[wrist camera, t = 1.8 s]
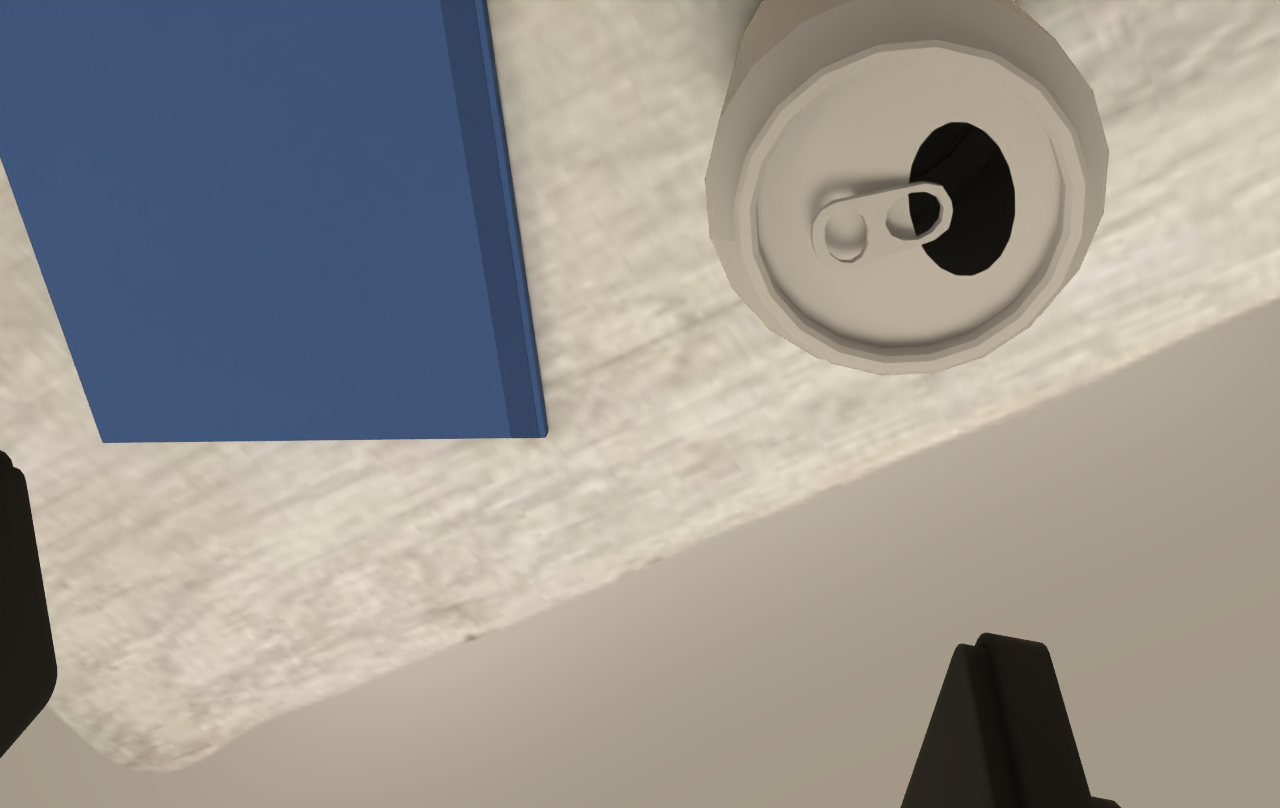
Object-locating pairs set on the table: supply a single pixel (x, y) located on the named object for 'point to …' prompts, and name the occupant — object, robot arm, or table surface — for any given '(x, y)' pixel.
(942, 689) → the robot arm
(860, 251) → the can
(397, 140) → the folder
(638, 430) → the table surface
